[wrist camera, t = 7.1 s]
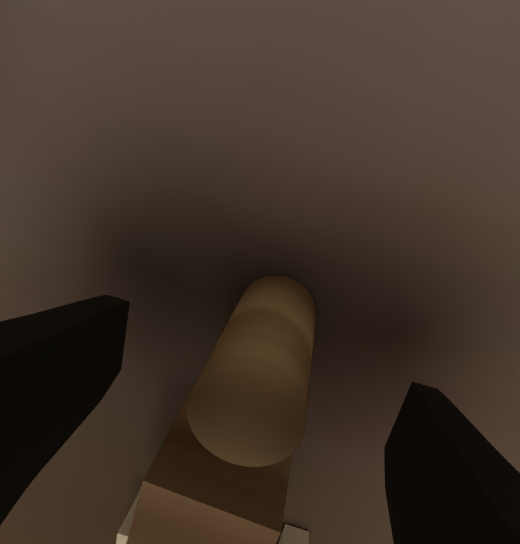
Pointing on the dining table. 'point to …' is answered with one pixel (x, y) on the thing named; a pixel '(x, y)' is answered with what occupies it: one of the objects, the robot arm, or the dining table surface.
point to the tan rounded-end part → (236, 428)
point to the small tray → (291, 540)
